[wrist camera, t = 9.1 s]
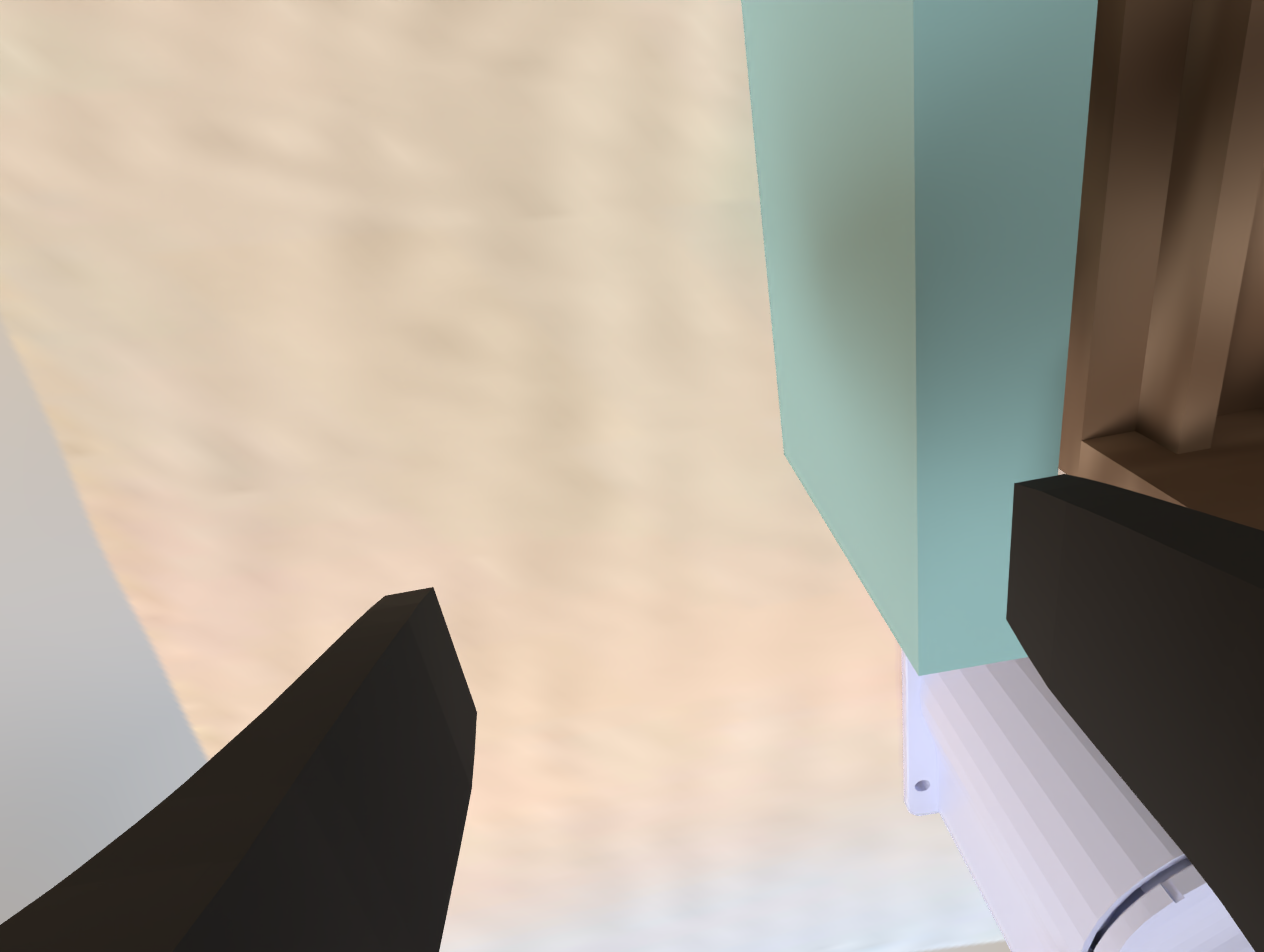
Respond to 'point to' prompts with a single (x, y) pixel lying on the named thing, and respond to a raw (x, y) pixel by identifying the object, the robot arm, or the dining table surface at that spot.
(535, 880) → the dining table surface
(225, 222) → the dining table surface
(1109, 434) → the walnut rack
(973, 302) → the teal sheet
